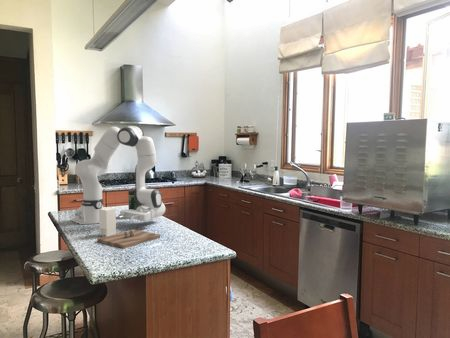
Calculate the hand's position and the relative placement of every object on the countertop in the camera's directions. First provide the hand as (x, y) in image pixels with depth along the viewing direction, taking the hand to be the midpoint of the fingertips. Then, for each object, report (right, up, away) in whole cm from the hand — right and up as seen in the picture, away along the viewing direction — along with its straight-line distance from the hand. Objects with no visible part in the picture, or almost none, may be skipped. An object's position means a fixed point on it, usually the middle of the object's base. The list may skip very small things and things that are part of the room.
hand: (124, 217), depth 207 cm
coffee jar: (-3, -5, +37) cm, 37 cm away
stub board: (+8, -9, -19) cm, 22 cm away
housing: (-7, -8, -9) cm, 14 cm away
